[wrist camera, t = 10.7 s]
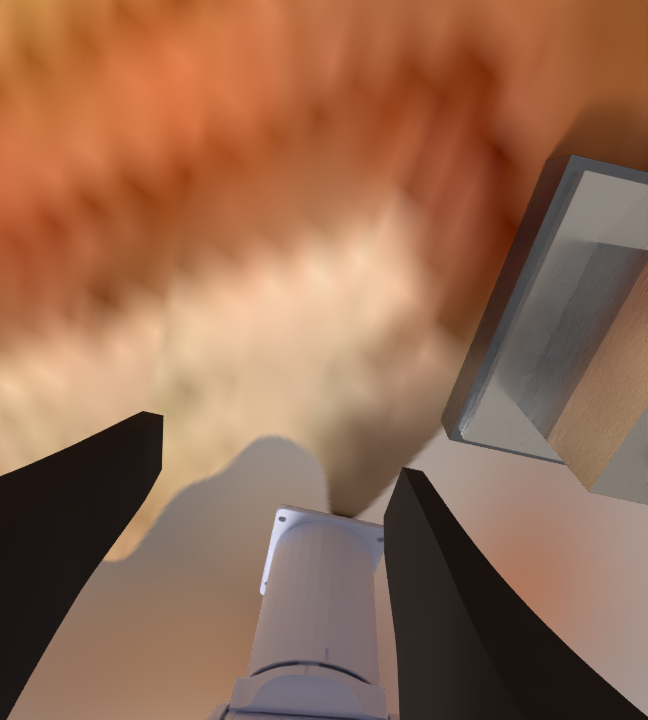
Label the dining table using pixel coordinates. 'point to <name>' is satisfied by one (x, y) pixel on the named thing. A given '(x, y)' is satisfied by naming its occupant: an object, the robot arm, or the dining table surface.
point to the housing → (599, 377)
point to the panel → (541, 295)
